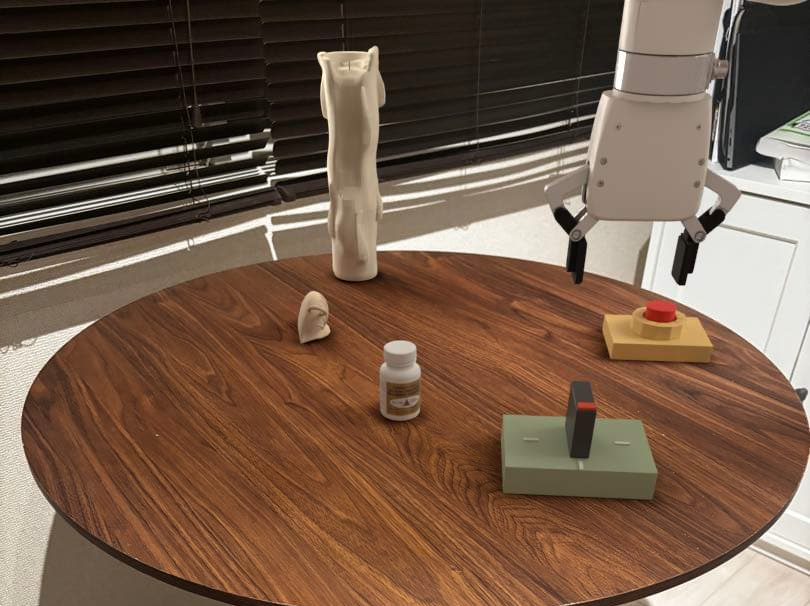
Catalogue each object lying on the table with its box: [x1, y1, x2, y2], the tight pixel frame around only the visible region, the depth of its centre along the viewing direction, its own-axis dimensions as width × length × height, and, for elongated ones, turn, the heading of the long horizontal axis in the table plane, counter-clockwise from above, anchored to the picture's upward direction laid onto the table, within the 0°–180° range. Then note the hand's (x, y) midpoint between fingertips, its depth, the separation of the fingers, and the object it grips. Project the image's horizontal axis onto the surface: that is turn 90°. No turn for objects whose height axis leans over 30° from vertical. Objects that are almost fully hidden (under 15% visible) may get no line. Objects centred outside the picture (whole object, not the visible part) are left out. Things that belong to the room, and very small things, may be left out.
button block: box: [601, 305, 714, 364], centre depth 102 cm, size 12×9×4 cm
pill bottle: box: [379, 340, 422, 422], centre depth 87 cm, size 4×4×8 cm
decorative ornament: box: [297, 290, 331, 344], centre depth 104 cm, size 4×8×5 cm, turn 7°
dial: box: [565, 380, 598, 458], centre depth 77 cm, size 6×2×5 cm, turn 176°
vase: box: [316, 45, 386, 282], centre depth 114 cm, size 9×8×30 cm
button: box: [645, 300, 678, 323], centre depth 101 cm, size 4×4×2 cm
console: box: [500, 414, 659, 501], centre depth 80 cm, size 14×10×3 cm
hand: (626, 280), depth 77 cm, fingers open, 9 cm apart
